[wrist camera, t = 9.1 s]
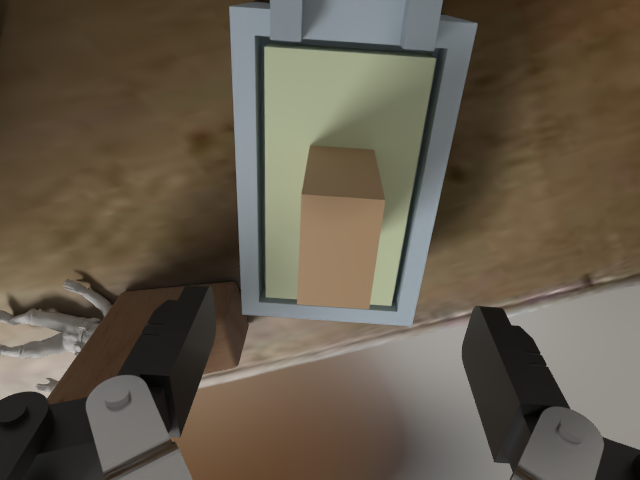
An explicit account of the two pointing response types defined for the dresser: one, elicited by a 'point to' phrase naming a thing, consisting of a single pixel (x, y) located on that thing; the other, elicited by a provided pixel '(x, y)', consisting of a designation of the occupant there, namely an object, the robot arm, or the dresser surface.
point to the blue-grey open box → (443, 106)
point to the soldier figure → (70, 326)
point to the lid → (340, 169)
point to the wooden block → (125, 328)
